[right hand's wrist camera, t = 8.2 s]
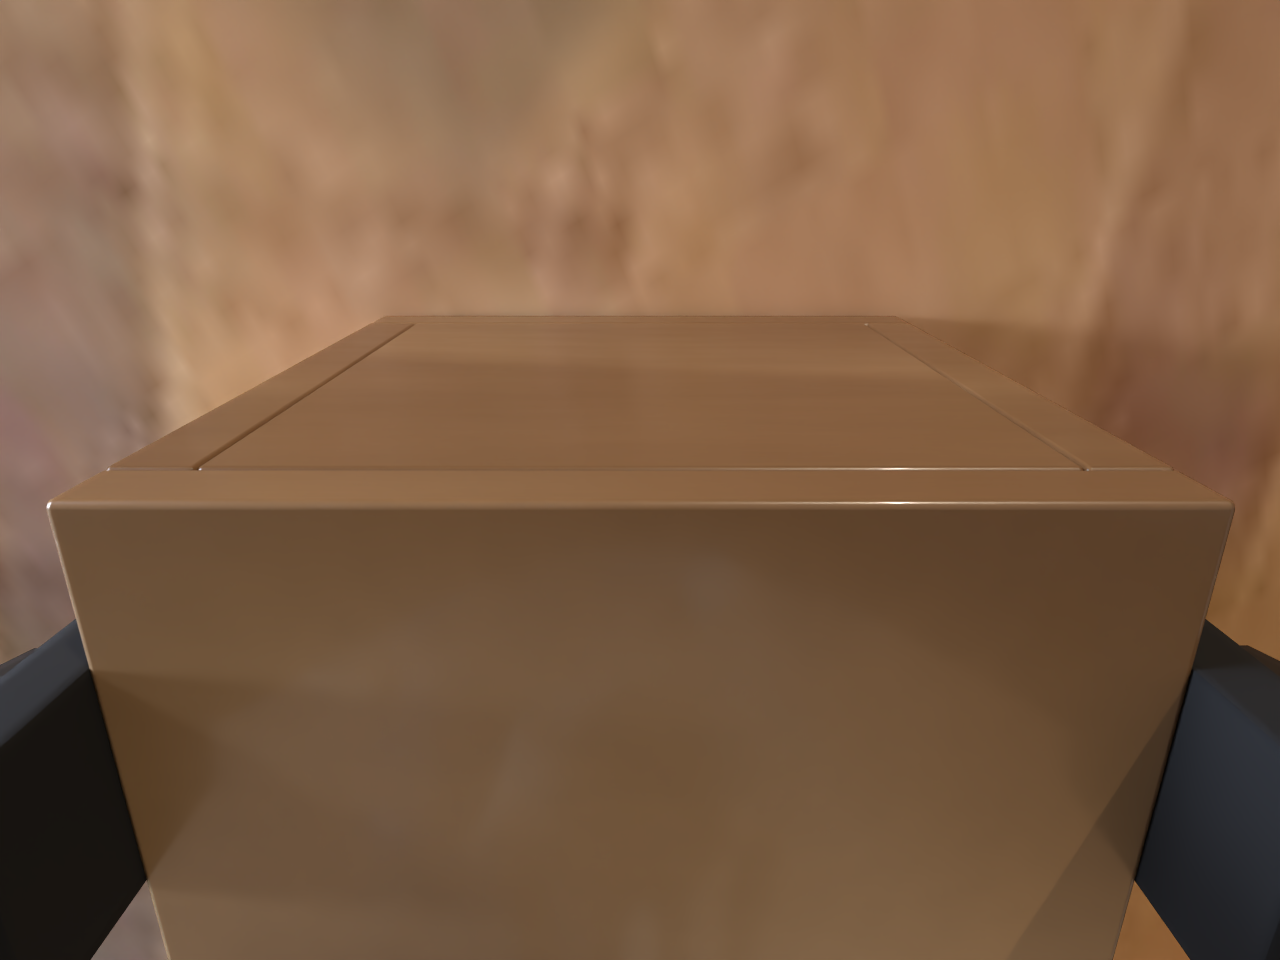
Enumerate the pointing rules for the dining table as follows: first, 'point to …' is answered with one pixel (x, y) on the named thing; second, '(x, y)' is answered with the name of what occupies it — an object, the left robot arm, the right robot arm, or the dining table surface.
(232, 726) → the cabinet
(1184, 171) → the dining table surface
